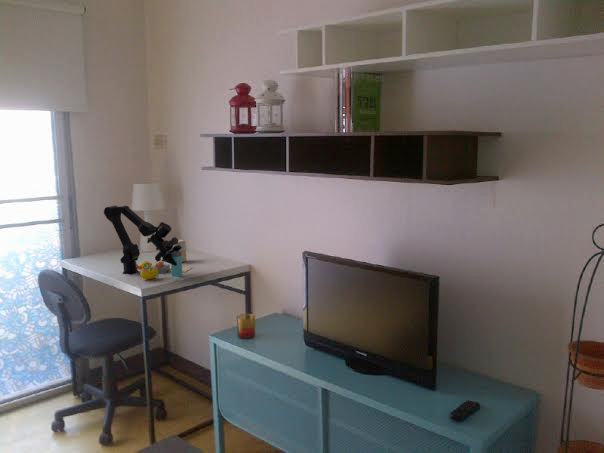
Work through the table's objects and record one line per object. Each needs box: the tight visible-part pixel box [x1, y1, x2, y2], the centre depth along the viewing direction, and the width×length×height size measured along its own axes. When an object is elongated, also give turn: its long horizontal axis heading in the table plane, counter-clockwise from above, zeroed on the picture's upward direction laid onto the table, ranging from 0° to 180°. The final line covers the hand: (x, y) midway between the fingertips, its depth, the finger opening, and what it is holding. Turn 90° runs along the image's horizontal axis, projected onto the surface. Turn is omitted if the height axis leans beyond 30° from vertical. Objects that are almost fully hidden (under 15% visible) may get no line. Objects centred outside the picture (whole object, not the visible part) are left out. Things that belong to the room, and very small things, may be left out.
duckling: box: [136, 260, 159, 281], centre depth 293 cm, size 11×5×10 cm, turn 123°
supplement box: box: [173, 239, 187, 263], centre depth 331 cm, size 8×5×13 cm, turn 145°
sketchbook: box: [167, 266, 193, 273], centre depth 313 cm, size 11×10×1 cm
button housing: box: [149, 263, 171, 274], centre depth 311 cm, size 8×8×3 cm
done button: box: [155, 260, 165, 267], centre depth 311 cm, size 4×4×3 cm
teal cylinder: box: [170, 252, 183, 278], centre depth 299 cm, size 4×4×13 cm
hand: (178, 264), depth 298 cm, fingers open, 4 cm apart
